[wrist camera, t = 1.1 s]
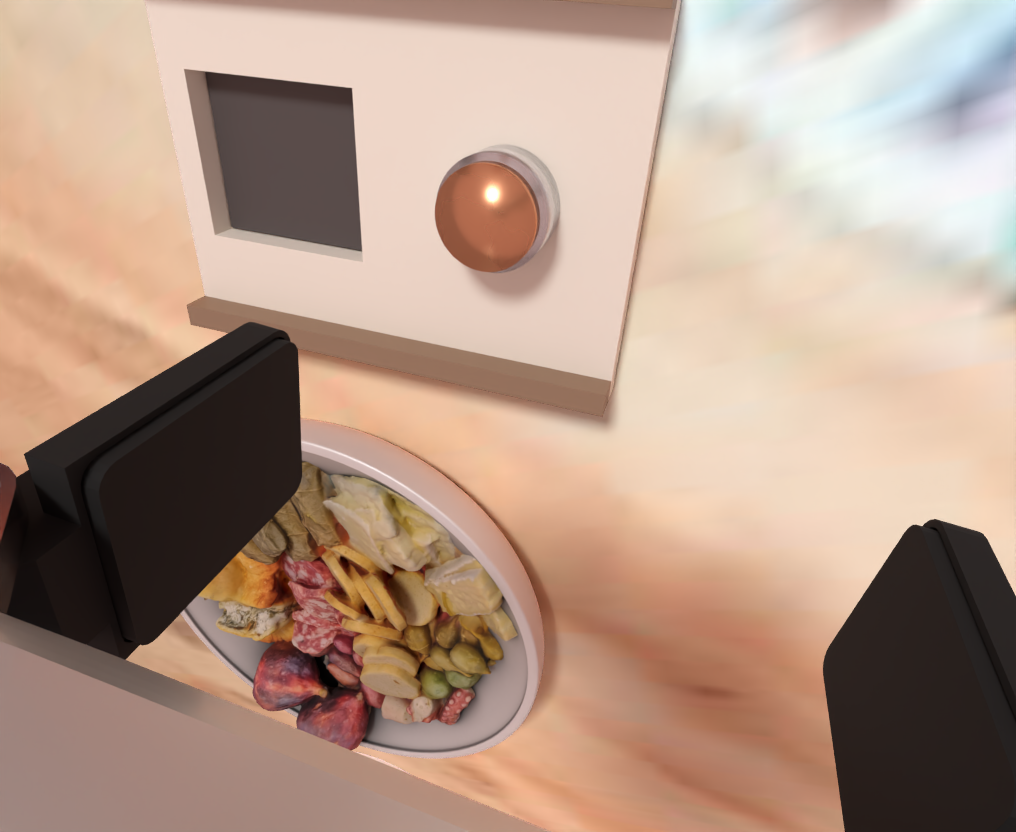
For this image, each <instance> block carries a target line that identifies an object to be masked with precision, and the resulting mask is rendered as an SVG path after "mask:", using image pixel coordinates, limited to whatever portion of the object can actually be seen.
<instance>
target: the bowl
mask: <svg viewBox="0 0 1016 832" xmlns="http://www.w3.org/2000/svg"><path fill="white" fill-rule="evenodd" d="M300 421H301V449H302V479H301V483H300V485H299V488H298V490H297V491H296V493H295V494H294V495H293V496H292V498H291V499H290V500H289V501H288V502H287V503H286V504H285V505H284V506H283V507H282V508H281V509H280V510H279V511H278V512H277V513H276V514H275V515H274V516H273V517H272V518H271V519H270V520H269V522H268V523H267V524H266V525H265V526H264V527H263V528H262V529H261V530H260V531H259V532H258V533H257V534H256V535H255V536H254V537H253V538H252V539H251V540H250V541H249V542H248V543H247V545H246V546H245V547H244V548H243V549H242V550H241V551H240V552H239V553H238V554H237V555H236V556H235V557H234V558H233V559H232V560H231V561H230V562H229V563H228V564H227V565H226V566H225V567H224V569H223V570H222V571H221V572H220V573H219V574H218V575H217V576H216V577H215V578H214V579H213V580H212V581H211V582H210V583H209V584H208V585H207V586H206V587H205V588H204V589H203V590H202V592H201V593H200V594H199V595H198V596H197V597H196V598H195V599H194V600H193V601H192V602H191V603H190V604H189V605H188V606H187V607H186V608H185V609H184V610H183V611H182V612H181V615H182V616H183V618H184V619H185V620H186V622H187V623H188V624H189V626H190V627H191V628H192V630H193V631H194V632H195V633H196V634H197V636H198V637H199V638H200V639H201V640H202V641H203V643H204V644H205V645H206V646H207V647H208V648H209V649H210V650H211V651H212V652H213V653H214V654H215V655H216V656H217V657H218V658H219V659H220V660H221V661H222V662H223V663H224V664H225V665H226V666H227V667H228V668H229V669H230V670H231V671H232V672H234V673H235V674H236V675H237V676H238V677H239V678H241V679H242V680H243V681H244V682H246V683H247V684H248V685H249V686H251V687H252V688H253V696H254V698H255V700H256V701H257V703H258V704H259V705H260V706H261V707H262V708H263V709H266V710H268V711H280V710H285V711H287V712H289V713H290V714H292V715H294V716H295V717H297V729H299V730H302V731H304V732H307V733H309V734H312V735H314V736H317V737H319V738H321V739H324V740H326V741H329V742H331V743H334V744H336V745H339V746H341V747H344V748H346V749H349V750H353V749H355V748H357V747H358V746H359V745H360V746H363V747H367V748H370V749H374V750H377V751H381V752H386V753H390V754H395V755H401V756H408V757H416V758H453V757H460V756H466V755H470V754H474V753H478V752H481V751H484V750H486V749H489V748H491V747H493V746H495V745H497V744H499V743H501V742H502V741H504V740H505V739H507V738H508V737H509V736H510V735H512V734H513V733H514V732H515V731H516V730H517V729H518V728H519V727H520V726H521V724H522V723H523V722H524V721H525V719H526V718H527V716H528V714H529V712H530V710H531V708H532V706H533V704H534V701H535V698H536V695H537V692H538V689H539V685H540V681H541V677H542V671H543V664H544V646H545V645H544V631H543V624H542V618H541V614H540V609H539V605H538V602H537V599H536V595H535V592H534V590H533V587H532V585H531V582H530V580H529V577H528V575H527V573H526V571H525V569H524V567H523V565H522V563H521V562H520V560H519V558H518V556H517V554H516V553H515V551H514V550H513V548H512V546H511V545H510V543H509V542H508V540H507V539H506V538H505V536H504V535H503V533H502V532H501V531H500V530H499V528H498V527H497V526H496V525H495V523H494V522H493V521H492V520H491V519H490V517H489V516H488V515H487V514H486V513H485V512H484V511H483V510H482V509H481V508H480V507H479V506H478V505H477V504H476V503H475V502H474V501H473V500H472V499H471V498H470V497H469V496H468V495H467V494H466V493H465V492H464V491H463V490H462V489H460V488H459V487H458V486H457V485H456V484H454V483H453V482H452V481H451V480H449V479H448V478H447V477H445V476H444V475H443V474H441V473H440V472H439V471H437V470H436V469H434V468H433V467H431V466H430V465H429V464H427V463H426V462H424V461H422V460H421V459H419V458H417V457H416V456H414V455H412V454H410V453H409V452H407V451H405V450H403V449H401V448H399V447H397V446H395V445H393V444H391V443H389V442H387V441H385V440H382V439H380V438H378V437H375V436H373V435H370V434H367V433H365V432H362V431H359V430H356V429H353V428H349V427H346V426H342V425H338V424H334V423H329V422H324V421H318V420H311V419H303V418H300Z"/></svg>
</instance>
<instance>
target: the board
mask: <svg viewBox="0 0 1016 832" xmlns="http://www.w3.org/2000/svg"><path fill="white" fill-rule="evenodd" d="M145 5H146V10H147V15H148V20H149V25H150V30H151V35H152V39H153V44H154V49H155V54H156V59H157V64H158V69H159V74H160V78H161V83H162V88H163V93H164V98H165V103H166V108H167V113H168V117H169V122H170V127H171V132H172V137H173V142H174V147H175V151H176V156H177V161H178V166H179V171H180V176H181V181H182V186H183V190H184V195H185V200H186V205H187V210H188V215H189V220H190V225H191V229H192V234H193V239H194V244H195V249H196V254H197V259H198V264H199V268H200V273H201V278H202V283H203V288H204V293H205V296H204V297H202V298H200V299H198V300H196V301H194V302H192V303H190V304H188V305H187V309H188V313H189V318H190V322H191V325H195V326H199V327H204V328H208V329H213V330H217V331H222V332H226V333H230V332H232V331H233V330H235V329H237V328H238V327H240V326H242V325H243V324H245V323H248V322H255V323H259V324H262V325H266V326H269V327H273V328H276V329H279V330H283V331H285V332H286V333H287V334H288V336H289V338H290V342H292V343H294V344H295V345H296V347H297V348H298V349H302V350H307V351H311V352H316V353H320V354H325V355H329V356H333V357H338V358H342V359H347V360H351V361H356V362H360V363H365V364H369V365H374V366H378V367H383V368H387V369H392V370H396V371H400V372H405V373H409V374H414V375H418V376H423V377H427V378H432V379H436V380H441V381H445V382H450V383H454V384H459V385H463V386H468V387H472V388H476V389H481V390H485V391H490V392H494V393H499V394H503V395H508V396H512V397H517V398H521V399H526V400H530V401H535V402H539V403H543V404H548V405H552V406H557V407H561V408H566V409H570V410H575V411H579V412H584V413H588V414H593V415H597V416H603V413H604V411H605V408H606V405H607V403H608V400H609V398H610V395H611V393H612V390H613V386H614V381H615V375H616V369H617V364H618V358H619V352H620V347H621V341H622V335H623V330H624V324H625V318H626V313H627V307H628V301H629V295H630V290H631V284H632V278H633V273H634V267H635V261H636V256H637V250H638V244H639V239H640V233H641V227H642V221H643V216H644V210H645V204H646V199H647V193H648V187H649V182H650V176H651V170H652V165H653V159H654V153H655V147H656V142H657V136H658V130H659V125H660V119H661V113H662V108H663V102H664V96H665V91H666V85H667V79H668V73H669V68H670V62H671V56H672V51H673V45H674V39H675V34H676V28H677V22H678V17H679V11H680V5H681V0H145ZM500 144H508V145H514V146H518V147H521V148H524V149H526V150H528V151H530V152H531V153H533V154H534V155H536V156H537V157H538V158H539V159H540V160H541V161H543V163H544V164H545V165H546V166H547V167H548V169H549V170H550V172H551V173H552V175H553V177H554V179H555V181H556V184H557V187H558V191H559V196H560V215H559V220H558V223H557V226H556V229H555V231H554V233H553V234H552V236H551V238H550V239H549V240H548V241H547V243H546V244H545V245H544V246H543V247H542V248H541V249H540V250H539V251H538V252H537V253H536V254H535V255H534V257H533V258H532V259H530V260H529V261H528V262H527V263H526V264H524V265H523V266H521V267H519V268H517V269H515V270H512V271H509V272H504V273H489V272H482V271H478V270H474V269H472V268H469V267H467V266H465V265H463V264H462V263H461V262H459V261H458V260H457V259H456V258H454V257H453V256H452V255H451V253H450V252H449V251H448V250H447V248H446V247H445V246H444V244H443V242H442V240H441V238H440V236H439V234H438V230H437V227H436V222H435V204H436V198H437V193H438V189H439V186H440V184H441V182H442V180H443V178H444V176H445V175H446V173H447V172H448V171H449V169H450V168H451V167H452V166H453V165H454V164H456V163H457V162H458V161H460V160H461V159H463V158H465V157H467V156H469V155H471V154H473V153H476V152H478V151H480V150H482V149H484V148H487V147H489V146H493V145H500ZM236 228H238V229H236ZM242 229H244V230H242ZM247 230H250V231H247ZM253 231H255V232H253ZM259 232H261V233H259ZM264 233H266V234H264ZM270 234H272V235H270ZM275 235H277V236H275ZM281 236H283V237H281ZM287 237H289V238H287ZM292 238H294V239H292ZM298 239H300V240H298ZM303 240H305V241H303ZM309 241H311V242H309ZM314 242H317V243H314ZM320 243H322V244H320ZM326 244H328V245H326ZM331 245H333V246H331ZM337 246H339V247H337ZM342 247H345V248H342ZM348 248H350V249H348ZM354 249H356V250H354ZM359 250H361V251H359Z"/></svg>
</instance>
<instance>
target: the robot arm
mask: <svg viewBox="0 0 1016 832" xmlns="http://www.w3.org/2000/svg"><path fill="white" fill-rule="evenodd" d="M24 456H25V459H26V462H27V465H28V468H29V470H28V471H26V472H25V473H23V474H21V475H20V476H18V477H17V478H16V475H15V474H14V473H13V471H12V470H11V469H10V468H9V467H8V466H6V465H4V464H2V463H0V832H551V831H548V830H546V829H543V828H541V827H538V826H536V825H533V824H531V823H528V822H526V821H524V820H521V819H519V818H516V817H514V816H511V815H509V814H506V813H504V812H501V811H499V810H496V809H494V808H492V807H489V806H487V805H484V804H482V803H479V802H477V801H474V800H472V799H469V798H467V797H465V796H462V795H460V794H457V793H455V792H452V791H450V790H447V789H445V788H442V787H440V786H437V785H435V784H433V783H430V782H428V781H425V780H423V779H420V778H418V777H415V776H413V775H410V774H408V773H405V772H403V771H401V770H398V769H396V768H393V767H391V766H388V765H386V764H383V763H381V762H378V761H376V760H373V759H371V758H368V757H366V756H363V755H361V754H359V753H356V752H354V751H351V750H349V749H346V748H344V747H341V746H339V745H336V744H334V743H331V742H329V741H326V740H324V739H321V738H319V737H317V736H314V735H312V734H309V733H307V732H304V731H302V730H299V729H297V728H294V727H292V726H289V725H287V724H284V723H282V722H279V721H277V720H274V719H272V718H269V717H267V716H264V715H262V714H259V713H257V712H254V711H252V710H249V709H247V708H244V707H242V706H239V705H237V704H234V703H232V702H229V701H227V700H224V699H222V698H219V697H217V696H214V695H212V694H209V693H207V692H204V691H202V690H199V689H197V688H194V687H192V686H189V685H187V684H184V683H182V682H179V681H177V680H174V679H172V678H169V677H167V676H164V675H162V674H159V673H157V672H154V671H152V670H149V669H147V668H144V667H142V666H139V665H137V664H134V663H132V662H129V661H127V660H126V659H127V658H128V656H129V655H130V654H131V653H132V652H133V651H134V650H135V649H136V648H137V647H138V646H139V645H140V644H141V645H147V644H149V643H151V642H153V641H154V640H155V639H156V638H157V637H158V636H159V635H160V634H161V633H162V632H163V631H164V630H165V629H166V628H167V627H168V626H169V625H170V624H171V623H172V622H173V621H174V620H175V619H176V618H177V617H178V616H179V614H180V613H181V612H182V611H183V610H184V609H185V608H186V607H187V606H188V605H189V604H190V603H191V602H192V601H193V600H194V599H195V598H196V597H197V596H198V595H199V594H200V593H201V592H202V590H203V589H204V588H205V587H206V586H207V585H208V584H209V583H210V582H211V581H212V580H213V579H214V578H215V577H216V576H217V575H218V574H219V573H220V572H221V571H222V570H223V569H224V567H225V566H226V565H227V564H228V563H229V562H230V561H231V560H232V559H233V558H234V557H235V556H236V555H237V554H238V553H239V552H240V551H241V550H242V549H243V548H244V547H245V546H246V545H247V543H248V542H249V541H250V540H251V539H252V538H253V537H254V536H255V535H256V534H257V533H258V532H259V531H260V530H261V529H262V528H263V527H264V526H265V525H266V524H267V523H268V522H269V520H270V519H271V518H272V517H273V516H274V515H275V514H276V513H277V512H278V511H279V510H280V509H281V508H282V507H283V506H284V505H285V504H286V503H287V502H288V501H289V500H290V499H291V498H292V496H293V495H294V494H295V493H296V491H297V490H298V488H299V485H300V483H301V479H302V449H301V421H300V393H299V365H298V349H297V347H296V345H295V344H294V343H292V342H290V338H289V336H288V334H287V333H286V332H285V331H283V330H279V329H276V328H273V327H269V326H266V325H262V324H259V323H255V322H248V323H245V324H243V325H242V326H240V327H238V328H237V329H235V330H233V331H232V332H230V333H228V334H226V335H225V336H223V337H221V338H220V339H218V340H216V341H215V342H213V343H211V344H209V345H208V346H206V347H204V348H203V349H201V350H199V351H198V352H196V353H194V354H193V355H191V356H189V357H187V358H186V359H184V360H182V361H181V362H179V363H177V364H176V365H174V366H172V367H171V368H169V369H167V370H165V371H164V372H162V373H160V374H159V375H157V376H155V377H154V378H152V379H150V380H149V381H147V382H145V383H143V384H142V385H140V386H138V387H137V388H135V389H133V390H132V391H130V392H128V393H127V394H125V395H123V396H121V397H120V398H118V399H116V400H115V401H113V402H111V403H110V404H108V405H106V406H104V407H103V408H101V409H99V410H98V411H96V412H94V413H93V414H91V415H89V416H88V417H86V418H84V419H82V420H81V421H79V422H77V423H76V424H74V425H72V426H71V427H69V428H67V429H66V430H64V431H62V432H60V433H59V434H57V435H55V436H54V437H52V438H50V439H49V440H47V441H45V442H44V443H42V444H40V445H38V446H37V447H35V448H33V449H32V450H30V451H28V452H27V453H25V454H24ZM823 676H824V683H825V690H826V698H827V705H828V712H829V719H830V727H831V734H832V741H833V748H834V756H835V763H836V770H837V777H838V785H839V792H840V799H841V806H842V814H843V821H844V828H845V832H1016V596H1015V594H1014V592H1013V590H1012V588H1011V586H1010V584H1009V582H1008V580H1007V578H1006V576H1005V574H1004V572H1003V570H1002V568H1001V566H1000V564H999V562H998V560H997V558H996V556H995V554H994V552H993V550H992V548H991V546H990V544H989V542H988V540H987V538H986V537H985V536H984V534H982V533H980V532H978V531H974V530H971V529H967V528H964V527H961V526H957V525H954V524H950V523H947V522H943V521H940V520H936V519H934V520H929V521H928V522H926V523H925V524H924V525H923V526H919V525H912V526H911V527H909V528H908V529H907V530H906V532H905V533H904V534H903V536H902V537H901V539H900V540H899V542H898V543H897V545H896V546H895V548H894V549H893V551H892V552H891V554H890V555H889V557H888V559H887V560H886V562H885V563H884V565H883V566H882V568H881V569H880V571H879V572H878V574H877V575H876V577H875V578H874V580H873V581H872V583H871V584H870V586H869V587H868V589H867V590H866V592H865V593H864V595H863V596H862V598H861V599H860V601H859V602H858V604H857V605H856V607H855V608H854V610H853V611H852V613H851V614H850V616H849V617H848V619H847V620H846V622H845V623H844V625H843V626H842V628H841V629H840V631H839V632H838V634H837V635H836V637H835V638H834V640H833V641H832V643H831V644H830V646H829V648H828V650H827V652H826V655H825V658H824V664H823Z"/></svg>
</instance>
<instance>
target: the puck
mask: <svg viewBox="0 0 1016 832" xmlns="http://www.w3.org/2000/svg"><path fill="white" fill-rule="evenodd" d="M559 215H560V196H559V191H558V187H557V184H556V181H555V179H554V177H553V175H552V173H551V172H550V170H549V169H548V167H547V166H546V165H545V164H544V163H543V161H541V160H540V159H539V158H538V157H537V156H536V155H534V154H533V153H531V152H530V151H528V150H526V149H524V148H521V147H518V146H514V145H508V144H500V145H493V146H489V147H487V148H484V149H482V150H480V151H478V152H476V153H473V154H471V155H469V156H467V157H465V158H463V159H461V160H460V161H458V162H457V163H456V164H454V165H453V166H452V167H451V168H450V169H449V171H448V172H447V173H446V175H445V176H444V178H443V180H442V182H441V184H440V186H439V189H438V193H437V198H436V204H435V222H436V227H437V230H438V234H439V236H440V238H441V240H442V242H443V244H444V246H445V247H446V248H447V250H448V251H449V252H450V253H451V255H452V256H453V257H454V258H456V259H457V260H458V261H459V262H461V263H462V264H463V265H465V266H467V267H469V268H472V269H474V270H478V271H482V272H489V273H504V272H509V271H512V270H515V269H517V268H519V267H521V266H523V265H524V264H526V263H527V262H528V261H529V260H530V259H532V258H533V257H534V255H535V254H536V253H537V252H538V251H539V250H540V249H541V248H542V247H543V246H544V245H545V244H546V243H547V241H548V240H549V239H550V238H551V236H552V234H553V233H554V231H555V229H556V226H557V223H558V220H559Z"/></svg>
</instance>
